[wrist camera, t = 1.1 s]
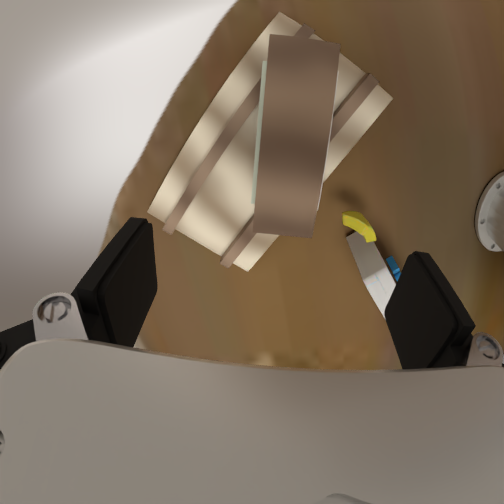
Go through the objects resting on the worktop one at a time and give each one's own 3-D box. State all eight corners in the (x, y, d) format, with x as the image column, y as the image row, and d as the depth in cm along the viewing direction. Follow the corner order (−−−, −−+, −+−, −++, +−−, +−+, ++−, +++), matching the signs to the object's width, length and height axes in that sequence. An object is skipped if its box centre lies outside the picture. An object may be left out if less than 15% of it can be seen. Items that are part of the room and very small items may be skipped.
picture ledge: (279, 14, 23) (280, 8, 20) (387, 97, 26) (398, 99, 24) (151, 206, 35) (142, 217, 32) (248, 264, 38) (247, 279, 36)
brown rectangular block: (265, 48, 22) (264, 33, 15) (321, 55, 22) (345, 44, 15) (253, 189, 30) (248, 232, 22) (303, 193, 30) (315, 238, 22)
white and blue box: (426, 335, 45) (445, 380, 36) (408, 345, 46) (424, 391, 38) (350, 182, 32) (378, 223, 24) (322, 200, 33) (340, 246, 25)
